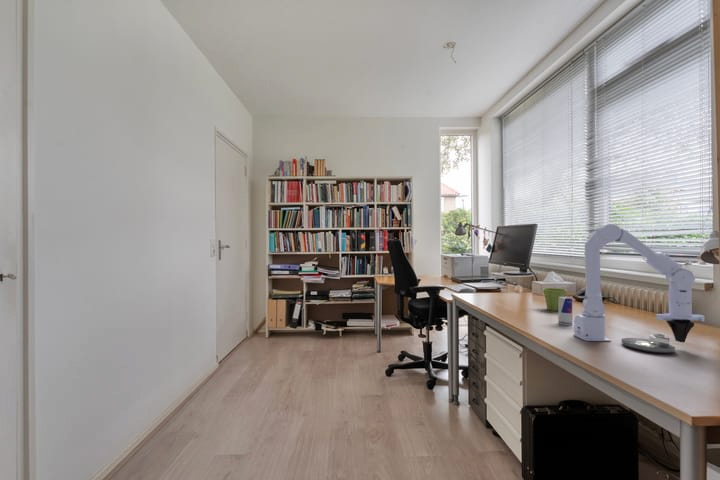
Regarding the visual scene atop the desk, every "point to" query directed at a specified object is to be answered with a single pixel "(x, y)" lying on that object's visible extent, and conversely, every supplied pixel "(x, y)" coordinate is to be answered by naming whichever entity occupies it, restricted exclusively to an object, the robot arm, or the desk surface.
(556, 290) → the plant pot
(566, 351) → the desk surface
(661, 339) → the cover
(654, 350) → the turntable
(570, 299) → the energy drink
